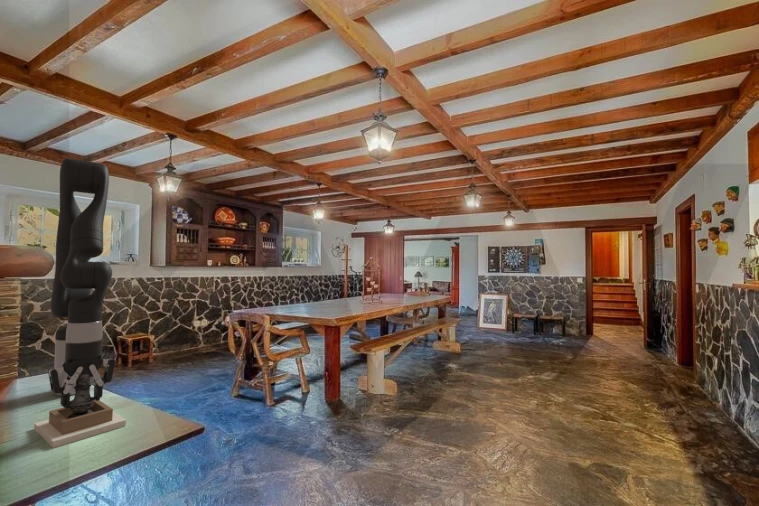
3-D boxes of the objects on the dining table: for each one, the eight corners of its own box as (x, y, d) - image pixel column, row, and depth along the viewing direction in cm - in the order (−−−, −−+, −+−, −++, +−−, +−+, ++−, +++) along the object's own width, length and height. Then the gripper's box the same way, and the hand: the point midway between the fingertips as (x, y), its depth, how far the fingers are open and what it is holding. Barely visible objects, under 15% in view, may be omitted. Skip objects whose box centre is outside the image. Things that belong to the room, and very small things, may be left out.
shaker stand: (34, 429, 96) (34, 411, 96) (103, 410, 108) (104, 394, 108) (52, 448, 87) (53, 428, 88) (125, 425, 100) (126, 408, 100)
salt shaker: (62, 416, 97) (64, 369, 97) (88, 408, 102) (90, 364, 102) (73, 421, 94) (75, 373, 94) (100, 413, 99) (102, 367, 99)
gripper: (110, 332, 106) (108, 392, 106) (44, 340, 94) (41, 408, 94) (122, 336, 102) (119, 399, 102) (53, 345, 90) (50, 416, 90)
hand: (81, 403), depth 98 cm, fingers closed on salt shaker, 6 cm apart
